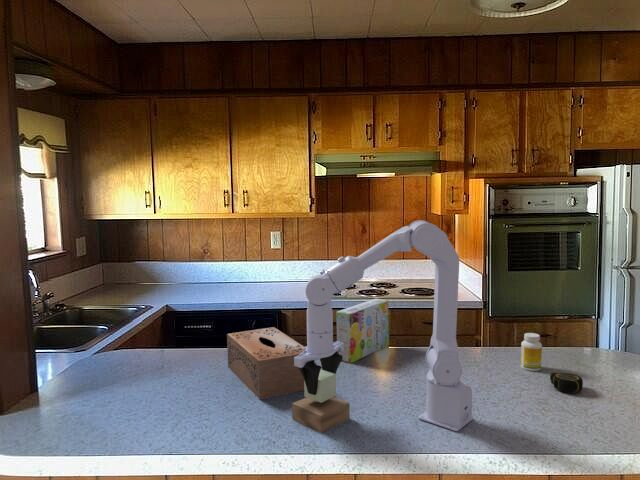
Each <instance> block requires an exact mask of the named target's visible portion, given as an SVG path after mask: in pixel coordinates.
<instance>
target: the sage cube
mask: <svg viewBox="0 0 640 480" xmlns="http://www.w3.org/2000/svg"><path fill="white" fill-rule="evenodd" d="M303 391H304V393H303V396H304V398H306V397H307V398H309V399H312V400H315V401H318V402H320V403H322V402H324V401H326V400H328V399H330V398H332V397H336V396H337V373H336V374H335V373H331V372H328V371H325V370H322V369H321V370H320V373H319V378H318V388H317V394H316V395H312V394H310V393H308V391H307V387H306V383H305V380H304V390H303Z"/></svg>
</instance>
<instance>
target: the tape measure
mask: <svg viewBox="0 0 640 480" xmlns="http://www.w3.org/2000/svg"><path fill="white" fill-rule="evenodd" d="M549 380H550V383H551V384H552V385H553V387H554V388H555V389H556V390H558V391H560V392H564V393H565V392H566V393H569V392H570V393H573V394H574V393H579V392H581V391H582V390H583V387H584V385H583V384H584V383H583V382H584V380H583V377H581V376H579V375H577V374H575V373H567V372H566V373H565V372H551V373H550V376H549Z"/></svg>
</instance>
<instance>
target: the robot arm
mask: <svg viewBox="0 0 640 480" xmlns="http://www.w3.org/2000/svg"><path fill="white" fill-rule="evenodd" d="M412 247H414V249H415V250H416V251H417V252H418V253H421V254H423V255H425V256H427V257H428V258H429V259H430V261H432V263H434V265H435V267H434V296H433V299H434V300H433V319H432V320H433V322H432V335H431V336H430V337H431V338H430V343H429V348H428V349H427V350H426V353H425V361H426V364H427V365H428V367H429V371H428V372H427V374H426V377H425V378H426V383H425V384H426V387H425V388H426V389H425V390H426V391H425V394H426V395H425V397H426V398H425V411H424V412H423V413H421V414H419V415H418V417H417V418H418V419H419V420H421V421H425V422H428V423H430V424H433V425H436V426H439V427H442V428H445V429H448V430H452V431H453V432H454V431H455V432H458V431H459V430H461V429H463V427H465V426H466V425H467V424H468V423H470V422H471V421H472V420H473V419H474V417H473V390H472V387H471V386H469V385H468V384H466V383H464V382H462V381H461V377H462V376H463V366H462V364H461V361H460V359H459V351H460V350H459V347H458V342H457V325H458V324H457V322H458V300H459V297H458V296H459V279H460V278H459V277H460V275H459V273H460V256H459V254H458V252H457V251H456V250H455V247H454V246H453V244H452V243H451V242H450V240H449V238H448V235H447V233H446V232H444V231H443V230H442V229H441V228H439V227H438V226H437V225H435V224H433V223H430V222H428V221H427V220H424V219H423V220H422V219H418V220H415V221H412V222H411V223H410V224H409V225H405V226H402V227H401V228H399V229H397V230H395V231H393V232H392V233H391V234H389V235H388V236H386V237H385V238H383V239H381V240H380V241H378V242H377V243H376V244H374V245H373V246H371V247H370V248H369V249H367V250H365V251H364V252H362V253H361V254H360V255H358V256H352V255H347V256H346V257H344V256H342V255H341V256H339V258H337V261H338V262H336V263H335V264H333V265H331V266H330V267H327V269H325V270H324V268H322V269H321V270H320V271H319V274H316V275H313V276H312V277H310V279H309V280H308V281H307V284H306V287H305V296H306V298H307V301H306V307H307V309H306V344H307V345H306V346H304V347H305V351H303V352H302V353H301V354H299V355H298V356H296V357H294V366H296V367H298V368H299V370H300V371H301V373H302V375H303V378H304V380H305V383H306V387H307V391H308V393H310V394H312V395H316V394H317V388H318V378H319V373H320V370H325V371H328V372H331V373H335V374H336V375H337V370H338V368H339V366H340V364H341V362H343V361H342V355H340V354H337V352H338V351H340V352H342V351H344V343H343V342H339V341H337V340H336V341H334V332H333V331H334V328H333V327H334V326H333V325H334V324H333V321H334V319H333V318H334V317H333V313H334V311H333V308H332V299H333V297H334V295H335V294H339V293H341V292H342V291H344V290H346V289H347V288H349V287H350V286H352V285H353V284H355V283H357V282H358V281H360V280H362V279H363V277H364V273H365V270H367V269H368V268H370V267H372V266H374V265H375V264H378V263H380V261H382V260H384V259H386V258H388V257H390V256H391V255H393V254H395V253H397V252H406V253H407V252H408V253H410V252H413V251H412ZM318 360H320V364H321V365H318V364H317V363H316V361H318Z"/></svg>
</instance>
